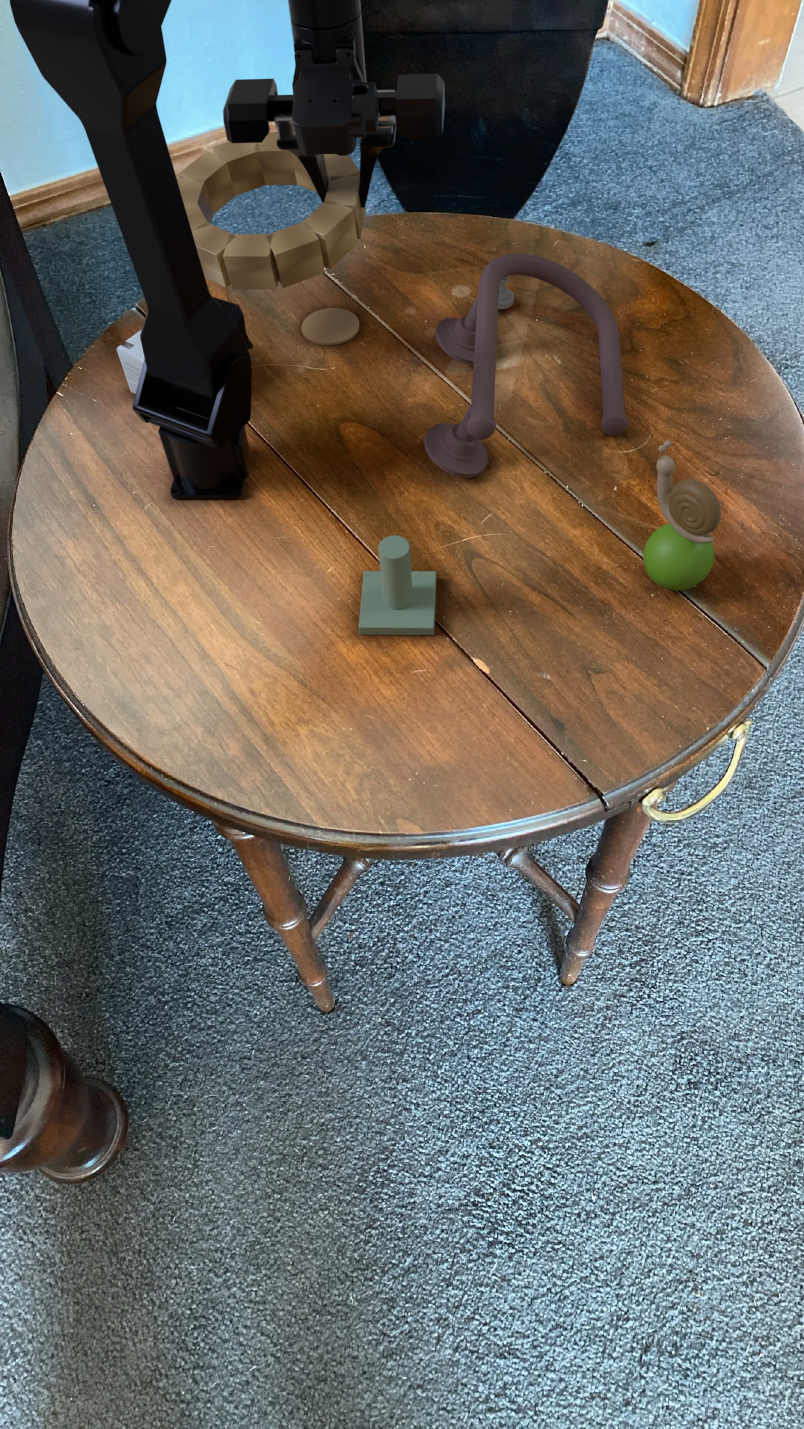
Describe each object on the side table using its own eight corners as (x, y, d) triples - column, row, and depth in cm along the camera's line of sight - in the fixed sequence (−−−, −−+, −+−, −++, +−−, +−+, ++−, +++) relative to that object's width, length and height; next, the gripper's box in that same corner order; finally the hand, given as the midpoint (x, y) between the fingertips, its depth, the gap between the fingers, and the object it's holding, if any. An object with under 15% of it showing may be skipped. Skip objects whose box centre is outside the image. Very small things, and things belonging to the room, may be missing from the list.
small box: (239, 376, 97) (229, 331, 93) (185, 420, 94) (172, 375, 89) (182, 350, 100) (169, 305, 95) (128, 392, 96) (113, 347, 92)
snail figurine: (659, 538, 82) (686, 424, 72) (720, 579, 79) (757, 466, 69) (615, 571, 80) (637, 459, 70) (676, 615, 77) (708, 504, 67)
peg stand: (359, 635, 78) (351, 576, 72) (364, 578, 81) (357, 518, 75) (434, 635, 77) (432, 576, 72) (436, 579, 81) (434, 518, 75)
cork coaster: (298, 345, 99) (298, 343, 99) (305, 310, 103) (304, 308, 102) (357, 345, 99) (357, 342, 99) (361, 309, 102) (361, 307, 102)
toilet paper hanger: (637, 478, 84) (453, 409, 79) (595, 530, 89) (421, 468, 85) (622, 284, 99) (467, 217, 95) (587, 339, 105) (439, 278, 100)
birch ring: (160, 289, 90) (148, 256, 87) (199, 167, 98) (190, 133, 95) (350, 289, 88) (345, 255, 85) (375, 164, 96) (371, 129, 93)
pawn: (504, 312, 100) (505, 276, 97) (483, 304, 101) (484, 268, 98) (518, 300, 101) (520, 264, 98) (498, 292, 102) (499, 256, 99)
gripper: (193, 64, 74) (234, 257, 87) (437, 56, 73) (441, 253, 86) (217, 1, 80) (252, 189, 93) (443, -8, 79) (446, 185, 92)
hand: (345, 205), depth 91 cm, fingers closed on birch ring, 3 cm apart
